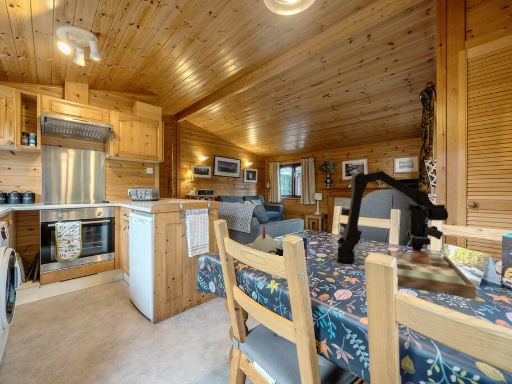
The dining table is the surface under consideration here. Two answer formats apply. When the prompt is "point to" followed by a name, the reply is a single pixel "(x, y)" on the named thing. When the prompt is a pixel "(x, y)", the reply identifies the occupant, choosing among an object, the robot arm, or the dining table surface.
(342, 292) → the dining table surface
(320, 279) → the dining table surface
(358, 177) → the robot arm
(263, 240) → the beige cone with rod
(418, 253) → the block
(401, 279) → the wooden tray
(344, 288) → the dining table surface
